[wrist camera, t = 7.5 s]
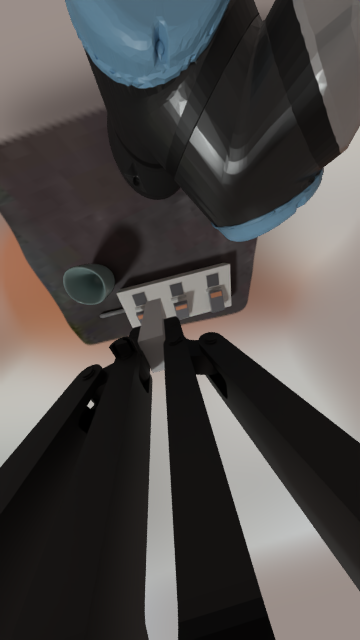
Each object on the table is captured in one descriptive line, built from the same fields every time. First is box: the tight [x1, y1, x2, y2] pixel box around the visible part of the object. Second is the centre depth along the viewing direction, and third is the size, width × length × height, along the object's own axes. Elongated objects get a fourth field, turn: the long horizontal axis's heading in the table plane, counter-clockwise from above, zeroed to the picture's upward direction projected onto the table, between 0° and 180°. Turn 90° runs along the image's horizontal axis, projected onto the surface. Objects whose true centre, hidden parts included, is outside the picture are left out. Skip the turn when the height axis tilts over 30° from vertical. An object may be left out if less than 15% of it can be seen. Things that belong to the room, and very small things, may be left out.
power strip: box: [100, 263, 231, 328], centre depth 39 cm, size 12×39×4 cm, turn 102°
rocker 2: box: [173, 300, 190, 319], centre depth 37 cm, size 6×4×1 cm, turn 12°
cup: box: [63, 264, 115, 305], centre depth 31 cm, size 8×8×10 cm
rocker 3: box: [208, 290, 225, 313], centre depth 37 cm, size 6×4×1 cm, turn 12°
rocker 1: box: [136, 311, 144, 323], centre depth 37 cm, size 6×4×1 cm, turn 12°
